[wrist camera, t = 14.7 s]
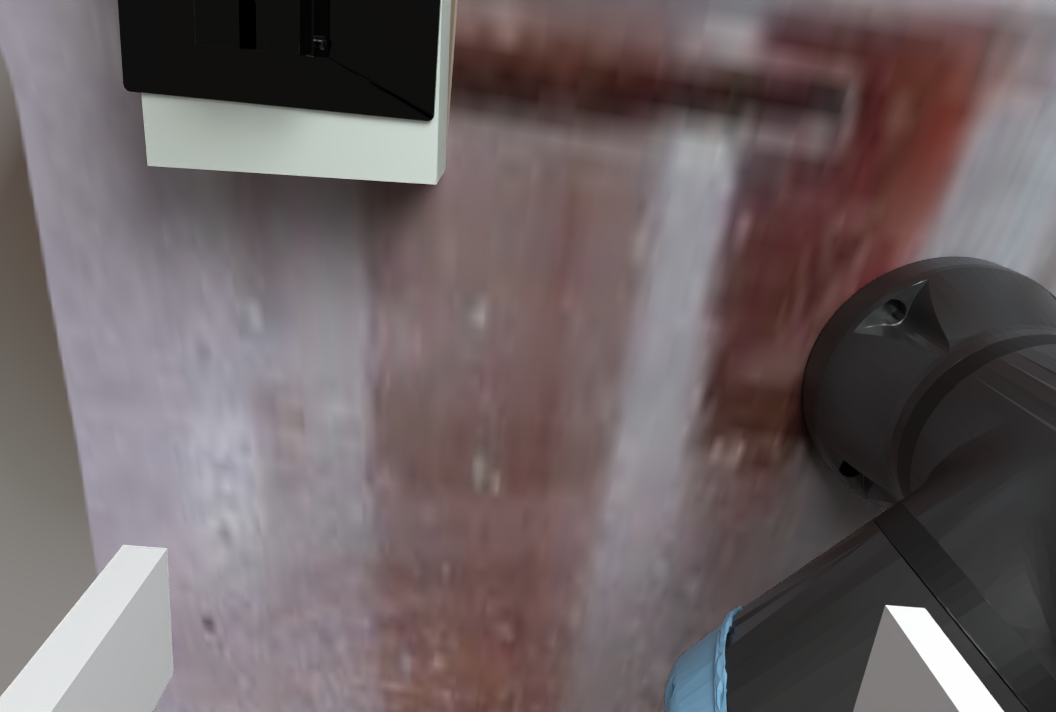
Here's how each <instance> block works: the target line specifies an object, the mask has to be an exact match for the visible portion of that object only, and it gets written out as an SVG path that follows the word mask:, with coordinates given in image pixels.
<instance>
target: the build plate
mask: <svg viewBox="0 0 1056 712" xmlns="http://www.w3.org/2000/svg"><path fill="white" fill-rule="evenodd" d="M118 8H119V23H120V39H121V54H122V69H123V84H124V87H125V89H126V90H128V91H131V92H141V93H151V94H161V95H171V96H181V97H191V98H201V99H211V100H221V101H231V102H241V103H251V104H261V105H271V106H281V107H291V108H301V109H311V110H321V111H331V112H341V113H351V114H361V115H371V116H381V117H391V118H401V119H411V120H421V121H430V120H432V119H433V118H434V115H435V98H436V81H437V63H438V46H439V28H440V11H441V0H118Z"/></svg>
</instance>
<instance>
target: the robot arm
mask: <svg viewBox="0 0 1056 712" xmlns="http://www.w3.org/2000/svg"><path fill="white" fill-rule="evenodd" d="M803 411H804V417H805V422H806V425H807V429H808V432H809V434H810V437H811V439H812V441H813V443H814V445H815V447H816V448H817V450H818V452H819V453H820V455H821V456H822V457H823V458H824V460H825V461H826V462H827V463H828V465H829V466H830V467H831V468H832V470H833V471H834V472H835V473H836V475H837V476H838V477H839V478H840V479H841V480H842V481H843V482H844V483H845V484H846V485H847V486H849V487H850V488H851V489H853V490H854V491H855V492H856V493H858V494H859V495H861V496H862V497H864V498H866V499H867V500H869V501H871V502H873V503H876V504H878V505H880V506H882V507H885V508H887V510H886V511H885V512H883V513H882V514H880V515H879V516H877V517H876V518H874V520H873V519H872V520H871V521H869V522H868V523H867V524H865V525H864V526H862V527H861V528H859V529H858V530H856V531H855V532H854V533H852V534H851V535H849V536H848V537H846V538H845V539H843V540H842V541H840V542H839V543H838V544H836V545H835V546H833V547H832V548H830V549H829V550H827V551H826V552H824V553H823V554H821V555H820V556H819V557H817V558H816V559H814V560H813V561H811V562H810V563H808V564H807V565H805V566H804V567H803V568H801V569H800V570H798V571H797V572H795V573H794V574H792V575H791V576H789V577H788V578H786V579H785V580H784V581H782V582H781V583H779V584H778V585H776V586H775V587H773V588H772V589H770V590H769V591H768V592H766V593H765V594H763V595H762V596H760V597H759V598H757V599H756V600H754V601H753V602H751V603H750V604H749V605H747V606H746V607H741V606H739V607H737V608H735V609H733V610H731V611H730V612H729V613H728V614H727V615H726V616H725V618H724V620H723V622H722V624H721V625H719V626H718V627H717V628H715V629H714V630H713V631H712V632H710V633H709V634H708V635H706V636H705V637H704V638H702V639H701V640H700V641H699V642H697V643H696V644H695V645H693V646H692V647H691V648H690V649H688V650H687V651H686V652H684V653H683V654H682V655H681V656H680V657H679V659H678V660H677V661H676V663H675V664H674V666H673V668H672V670H671V672H670V674H669V676H668V680H667V683H666V690H665V695H664V703H665V712H1056V297H1055V296H1054V295H1053V294H1052V293H1051V292H1049V291H1048V290H1047V289H1045V288H1044V287H1043V286H1042V285H1040V284H1039V283H1037V282H1036V281H1034V280H1032V279H1030V278H1029V277H1027V276H1025V275H1022V274H1020V273H1018V272H1015V271H1013V270H1010V269H1008V268H1005V267H1003V266H1001V265H998V264H996V263H992V262H989V261H986V260H981V259H976V258H969V257H940V258H933V259H927V260H922V261H918V262H914V263H911V264H908V265H905V266H902V267H900V268H897V269H895V270H893V271H891V272H888V273H886V274H885V275H883V276H881V277H879V278H877V279H876V280H874V281H872V282H871V283H869V284H868V285H866V286H865V287H864V288H862V289H861V290H860V291H858V292H857V293H856V294H855V295H853V296H852V297H851V298H850V299H849V300H848V301H847V302H846V303H845V304H844V305H843V306H842V307H841V308H840V309H839V310H838V311H837V312H836V314H835V315H834V316H833V317H832V319H831V320H830V321H829V323H828V324H827V325H826V327H825V328H824V330H823V332H822V333H821V335H820V337H819V338H818V340H817V342H816V344H815V346H814V349H813V351H812V353H811V356H810V359H809V361H808V365H807V368H806V372H805V378H804V384H803ZM173 674H174V673H173V652H172V632H171V611H170V591H169V570H168V550H167V548H157V547H144V546H131V545H123V546H122V547H121V548H120V550H119V551H118V552H117V553H116V555H115V556H114V557H113V558H112V559H111V561H110V562H109V563H108V564H107V566H106V567H105V568H104V569H103V571H102V572H101V573H100V574H99V576H98V577H97V578H96V579H95V581H94V582H93V583H92V584H91V585H90V587H89V588H88V589H87V590H86V592H85V593H84V594H83V595H82V597H81V598H80V599H79V600H78V602H77V603H76V604H75V605H74V607H73V608H72V609H71V610H70V611H69V613H68V614H67V615H66V616H65V618H64V619H63V620H62V622H61V623H60V624H59V625H58V626H57V628H56V629H55V630H54V631H53V632H52V634H51V635H50V636H49V637H48V639H47V640H46V641H45V643H44V644H43V645H42V646H41V647H40V649H39V650H38V651H37V652H36V654H35V655H34V656H33V657H32V658H31V660H30V661H29V662H28V663H27V665H26V666H25V667H24V668H23V670H22V671H21V672H20V673H19V675H18V676H17V677H16V678H15V680H14V681H13V682H12V683H11V684H10V686H9V687H8V688H7V689H6V691H5V692H4V693H3V694H2V696H1V697H0V712H153V710H154V708H155V706H156V704H157V703H158V701H159V699H160V697H161V695H162V694H163V692H164V690H165V688H166V686H167V685H168V683H169V681H170V679H171V677H172V676H173Z"/></svg>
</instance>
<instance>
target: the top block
mask: <svg viewBox="0 0 1056 712" xmlns="http://www.w3.org/2000/svg"><path fill="white" fill-rule="evenodd" d="M450 12H451V0H441V11H440V28H439V46H438V63H437V81H436V98H435V115H434V118H433V119H432V120H430V121H421V120H411V119H401V118H391V117H381V116H371V115H361V114H351V113H341V112H331V111H321V110H311V109H301V108H291V107H281V106H271V105H261V104H251V103H241V102H231V101H221V100H211V99H201V98H191V97H181V96H171V95H161V94H151V93H141V97H142V108H143V120H144V131H145V142H146V154H147V165H148V166H158V167H173V168H188V169H204V170H219V171H234V172H250V173H265V174H280V175H296V176H311V177H326V178H342V179H357V180H373V181H388V182H403V183H419V184H434V185H437V183H438V181H439V180H440V178H441V177H442V175H443V173H444V172H445V165H446V134H447V103H448V73H449V42H450Z"/></svg>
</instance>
